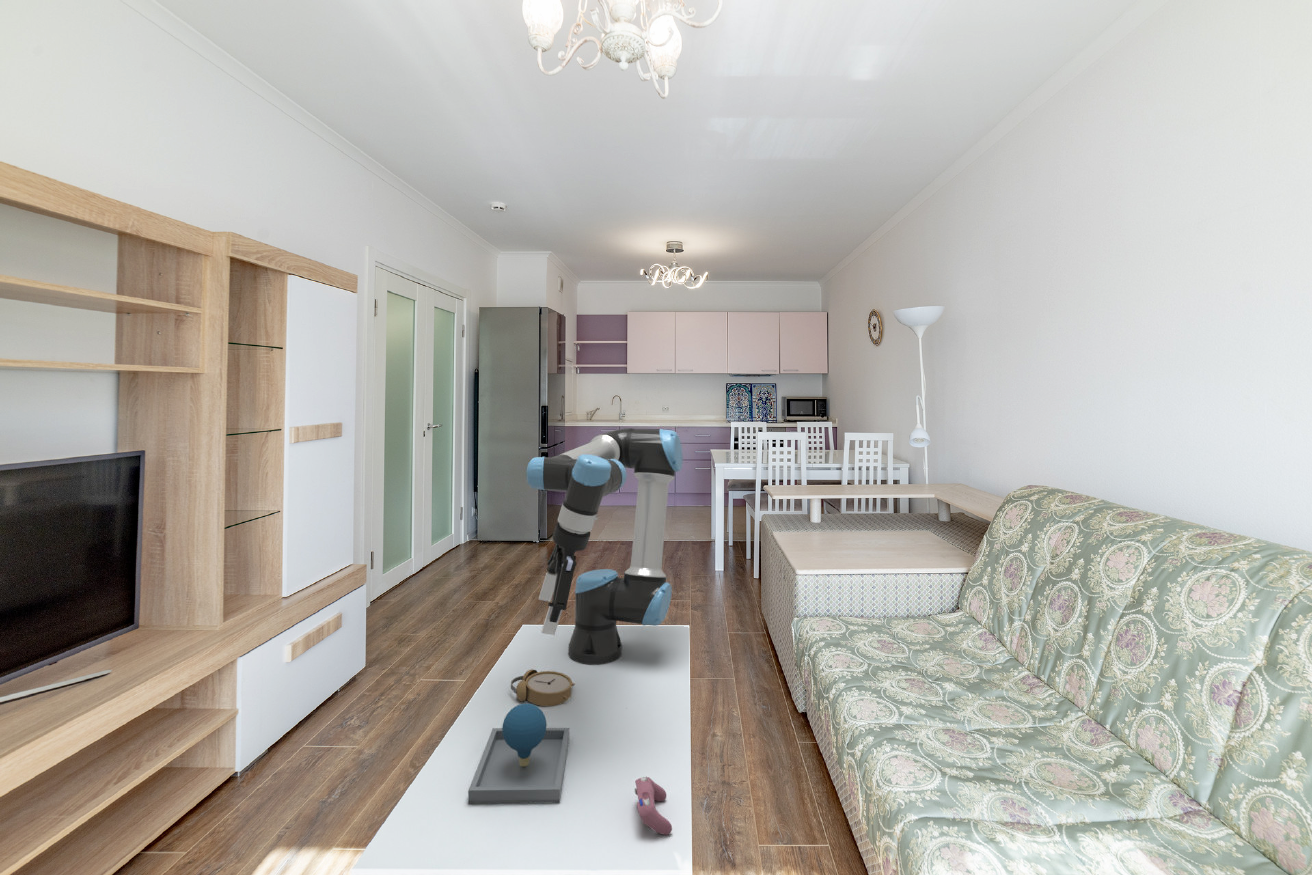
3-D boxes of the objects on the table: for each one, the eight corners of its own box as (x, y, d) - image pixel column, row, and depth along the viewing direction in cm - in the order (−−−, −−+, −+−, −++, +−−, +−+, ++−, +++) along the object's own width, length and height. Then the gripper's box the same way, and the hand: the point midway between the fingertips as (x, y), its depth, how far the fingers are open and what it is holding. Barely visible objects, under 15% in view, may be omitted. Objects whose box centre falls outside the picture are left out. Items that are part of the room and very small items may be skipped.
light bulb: (536, 782, 111) (536, 719, 110) (494, 775, 113) (494, 714, 112) (552, 756, 119) (553, 697, 118) (513, 750, 121) (513, 692, 120)
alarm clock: (567, 697, 139) (505, 681, 140) (563, 717, 139) (501, 701, 140) (578, 674, 150) (520, 660, 151) (574, 693, 150) (517, 678, 152)
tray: (492, 739, 126) (492, 728, 125) (569, 738, 126) (569, 727, 126) (468, 803, 106) (468, 790, 105) (559, 802, 107) (559, 789, 106)
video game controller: (645, 806, 109) (628, 773, 108) (668, 794, 109) (651, 762, 108) (649, 847, 99) (631, 811, 98) (674, 834, 99) (656, 798, 98)
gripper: (599, 556, 116) (567, 651, 119) (584, 509, 139) (558, 590, 143) (561, 548, 113) (530, 646, 117) (553, 502, 137) (527, 584, 140)
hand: (546, 615), depth 130 cm, fingers open, 13 cm apart
